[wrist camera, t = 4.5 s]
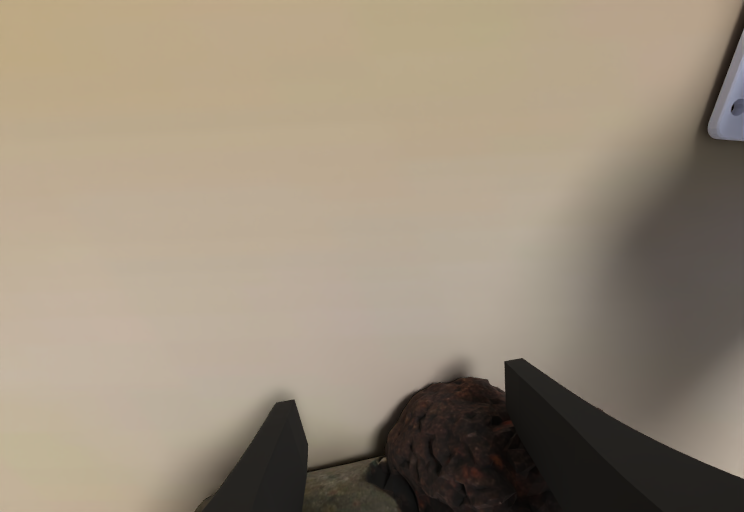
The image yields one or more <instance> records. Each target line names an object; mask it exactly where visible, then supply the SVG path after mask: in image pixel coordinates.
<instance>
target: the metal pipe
mask: <svg viewBox="0 0 744 512" xmlns="http://www.w3.org/2000/svg"><path fill="white" fill-rule="evenodd" d="M597 409H599V408H597ZM599 410H601V409H599ZM601 411H602V410H601ZM602 412H603V411H602ZM385 453H386V455H384V456H380V457H376V458H371V459H367V460H363V461H359V462H355V463H350V464H345V465H341V466H336V467H331V468H327V469H322V470H317V471H313V472H309V473H307V479H306V487H305V493H304V500H303V507H302V512H563V510H562V508H561V506H560V505H559V503H558V501H557V500H556V498H555V496H554V495H553V493H552V491H551V490H550V488H549V486H548V485H547V483H546V481H545V480H544V478H543V477H542V475H541V473H540V472H539V470H538V468H537V467H536V465H535V463H534V462H533V460H532V458H531V457H530V455H529V453H528V452H527V450H526V448H525V447H524V445H523V443H522V441H521V440H520V438H519V436H518V434H517V432H516V430H515V427H514V425H513V423H512V421H511V419H510V416H509V414H508V412H507V410H506V396H505V392H504V391H502V390H501V389H499V388H498V387H494V386H492V385H490V383H489V381H488V380H487V379H479V378H473V377H468V378H460V379H457V380H455V381H453V382H451V383H441V382H440V383H438V384H432V385H431V386H429V387H428V388H427V389H424V390H422V391H419V392H418V393H417V394H415V395H414V396H413V397H412V398H411V400H410V401H409V403H408V404H407V405H406V407H405V408H404V410H403V411H402V414H401V416H400V418H399V420H398V421H397V423H396V424H395V426H394V427H393V428H392V430H391V431H390V432H389V434H388V439H387V443H386V446H385ZM213 496H214V495H213ZM213 496H211V497H209V498H206V499H205V500H204V501H203V502H202V503H201V504H200V505H199V506H198V508H197V509H196V510H195V512H202V510H203V509H204V508H205V507H206V505H207V504H208V503H209V502H210V500H211V499H212V498H213Z"/></svg>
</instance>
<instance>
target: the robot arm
mask: <svg viewBox="0 0 744 512" xmlns="http://www.w3.org/2000/svg"><path fill="white" fill-rule="evenodd" d="M733 104H734V109H733V111H732V112H731V108H732V105H733ZM708 133H709V135H710V136H711V137H712V138H715V139H722V140H734V141H744V30H743V32H742V35H741V38H740V40H739V43H738V46H737V48H736V51H735V54H734V56H733V59H732V62H731V64H730V67H729V70H728V72H727V75H726V78H725V80H724V83H723V86H722V88H721V91H720V94H719V97H718V99H717V102H716V105H715V107H714V110H713V113H712V115H711V118H710V121H709V124H708ZM504 362H505V396H506V410H507V412H508V414H509V416H510V419H511V421H512V423H513V425H514V427H515V430H516V432H517V434H518V436H519V438H520V440H521V441H522V443H523V445H524V447H525V448H526V450H527V452H528V453H529V455H530V457H531V458H532V460H533V462H534V463H535V465H536V467H537V468H538V470H539V472H540V473H541V475H542V477H543V478H544V480H545V481H546V483H547V485H548V486H549V488H550V490H551V491H552V493H553V495H554V496H555V498H556V500H557V501H558V503H559V505H560V506H561V508H562V510H563V512H744V479H743V478H740V477H737V476H735V475H732V474H730V473H727V472H725V471H722V470H720V469H718V468H715V467H713V466H710V465H708V464H706V463H703V462H701V461H699V460H697V459H694V458H692V457H690V456H688V455H685V454H683V453H681V452H679V451H677V450H674V449H672V448H670V447H668V446H666V445H664V444H662V443H660V442H658V441H656V440H654V439H652V438H650V437H648V436H646V435H644V434H642V433H640V432H638V431H636V430H634V429H632V428H630V427H629V426H627V425H625V424H623V423H621V422H620V421H618V420H616V419H614V418H613V417H611V416H609V415H608V414H606V413H604V412H602V411H601V410H599V409H597V408H596V407H594V406H592V405H591V404H589V403H588V402H586V401H584V400H583V399H581V398H580V397H578V396H577V395H575V394H574V393H572V392H571V391H569V390H568V389H566V388H565V387H563V386H562V385H560V384H559V383H557V382H556V381H554V380H553V379H551V378H550V377H548V376H547V375H546V374H544V373H543V372H541V371H540V370H538V369H537V368H536V367H534V366H533V365H531V364H530V363H528V362H527V361H526V360H524V359H523V358H521V359H515V360H509V361H504ZM307 462H308V443H307V440H306V436H305V433H304V430H303V426H302V423H301V420H300V416H299V413H298V410H297V406H296V403H295V400H289V401H283V402H278V403H276V404H275V405H274V407H273V408H272V410H271V412H270V413H269V415H268V417H267V418H266V420H265V421H264V423H263V425H262V426H261V428H260V430H259V431H258V433H257V434H256V436H255V438H254V439H253V441H252V442H251V444H250V445H249V447H248V448H247V450H246V451H245V453H244V454H243V456H242V457H241V459H240V460H239V462H238V463H237V465H236V466H235V468H234V469H233V470H232V472H231V473H230V475H229V476H228V477H227V479H226V480H225V482H224V483H223V484H222V486H221V487H220V489H219V490H218V491H217V493H216V494H215V495H214V496H213V498H212V499H211V500H210V502H209V503H208V504H207V505H206V507H205V508H204V509H203V510H202V512H302V507H303V500H304V493H305V487H306V479H307Z"/></svg>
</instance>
